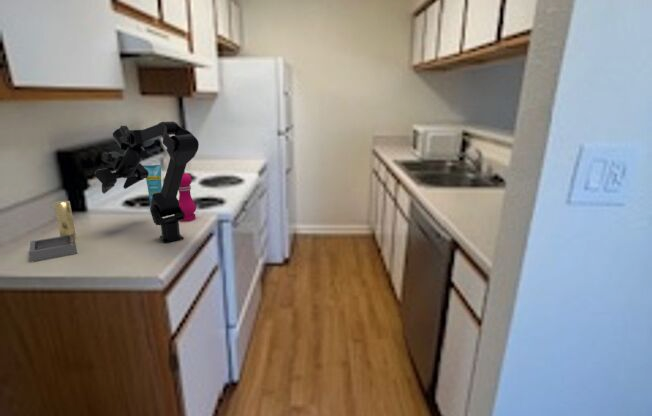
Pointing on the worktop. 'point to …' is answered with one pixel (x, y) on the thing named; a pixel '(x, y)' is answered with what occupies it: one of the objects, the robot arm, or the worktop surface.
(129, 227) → the worktop surface
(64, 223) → the beige tall cylinder
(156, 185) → the tube
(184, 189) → the pepper mill
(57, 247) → the collar
